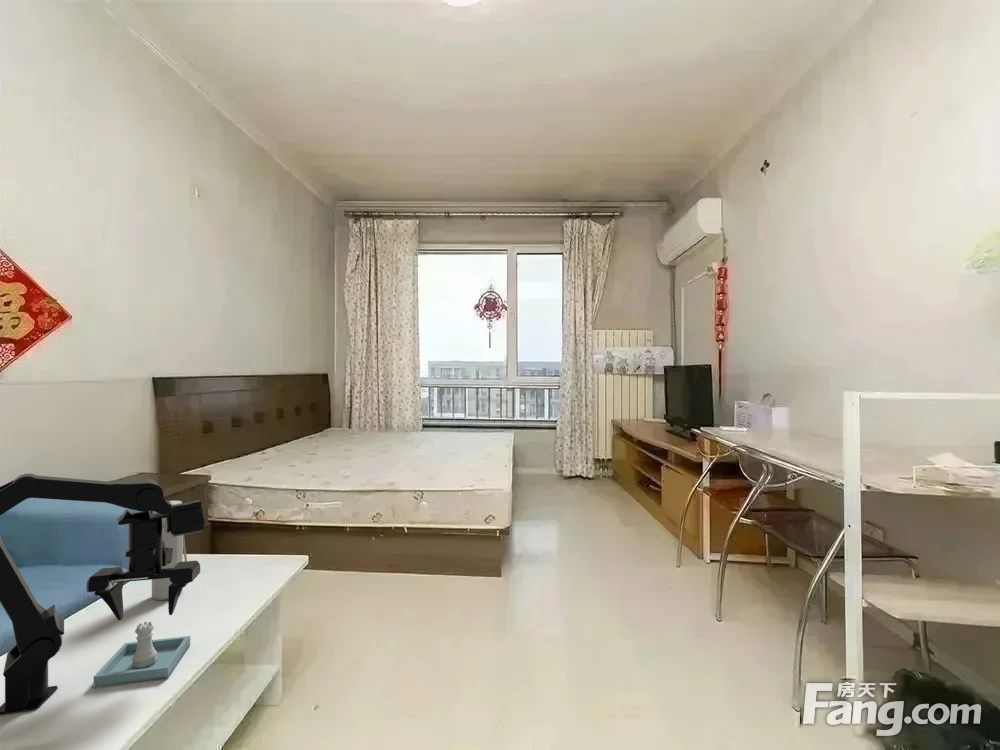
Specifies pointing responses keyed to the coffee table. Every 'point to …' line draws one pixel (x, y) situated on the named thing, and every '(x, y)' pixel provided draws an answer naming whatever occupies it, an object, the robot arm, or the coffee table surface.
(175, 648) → the slate tray
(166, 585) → the water bottle
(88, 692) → the coffee table surface
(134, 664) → the rook chess piece
